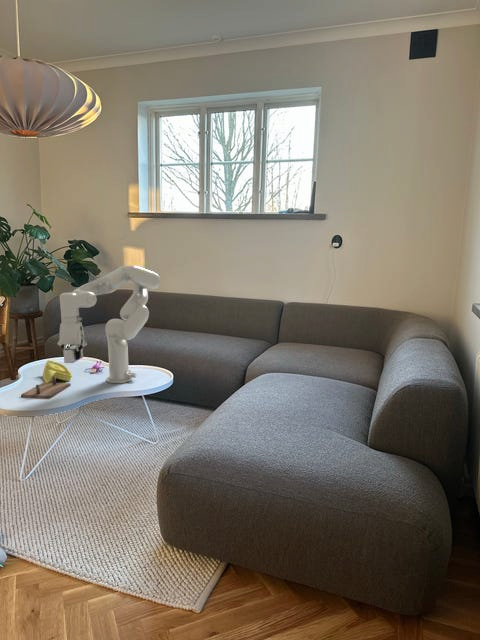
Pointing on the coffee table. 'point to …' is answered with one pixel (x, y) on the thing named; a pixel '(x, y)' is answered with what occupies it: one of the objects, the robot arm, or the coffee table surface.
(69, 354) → the block
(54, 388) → the pin tray
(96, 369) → the purple doll figure
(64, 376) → the plastic component
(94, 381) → the coffee table surface
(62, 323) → the robot arm
